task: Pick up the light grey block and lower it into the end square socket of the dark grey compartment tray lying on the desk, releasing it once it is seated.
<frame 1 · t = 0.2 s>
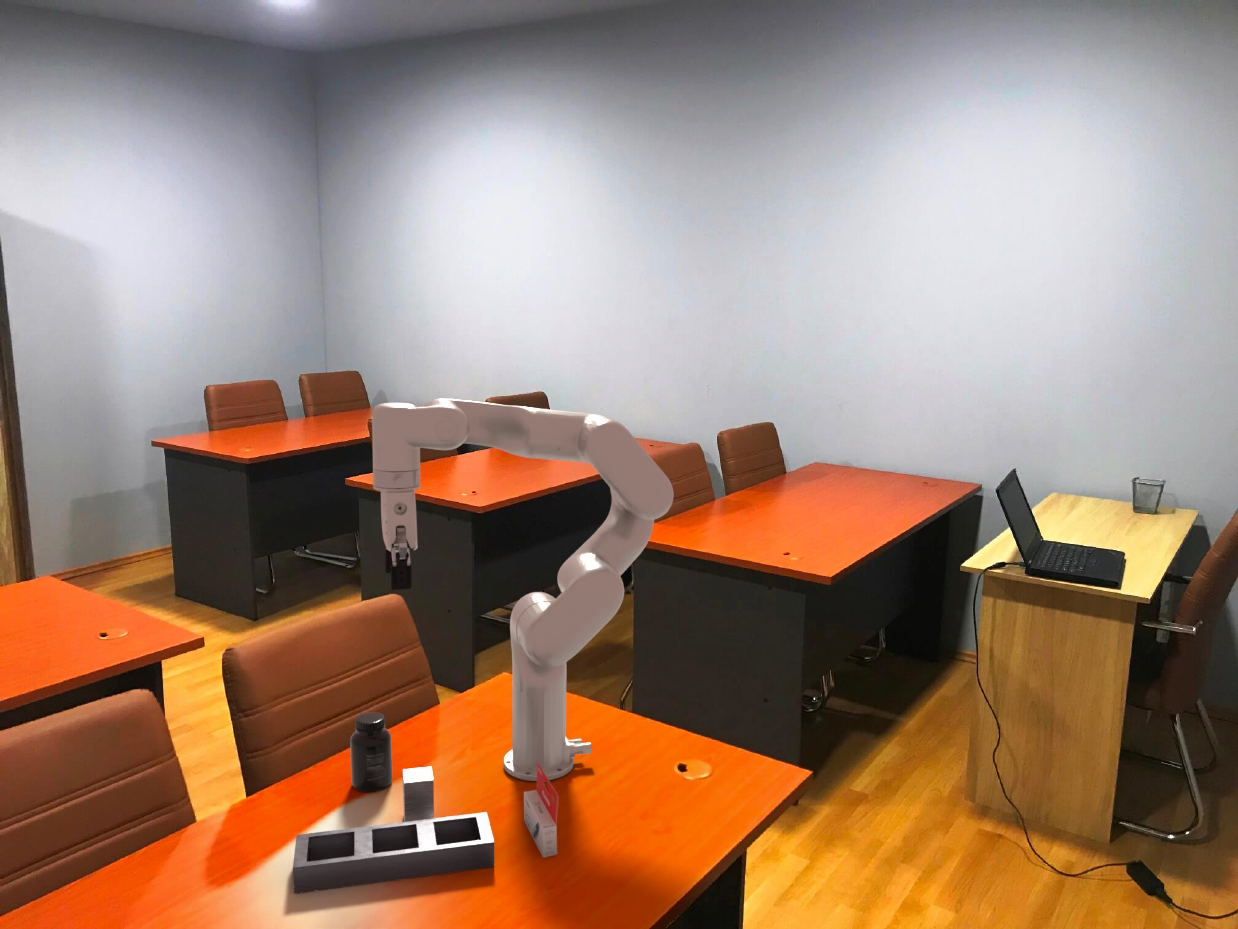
hand: (398, 580, 159), 36 cm above the table, tool pointing down, fingers open, 9 cm apart
ink cartridge box: (540, 839, 149), on the table
supplement bottle: (372, 784, 164), on the table
dark grey compartment tray: (395, 863, 141), on the table
light grey block: (418, 821, 152), on the table
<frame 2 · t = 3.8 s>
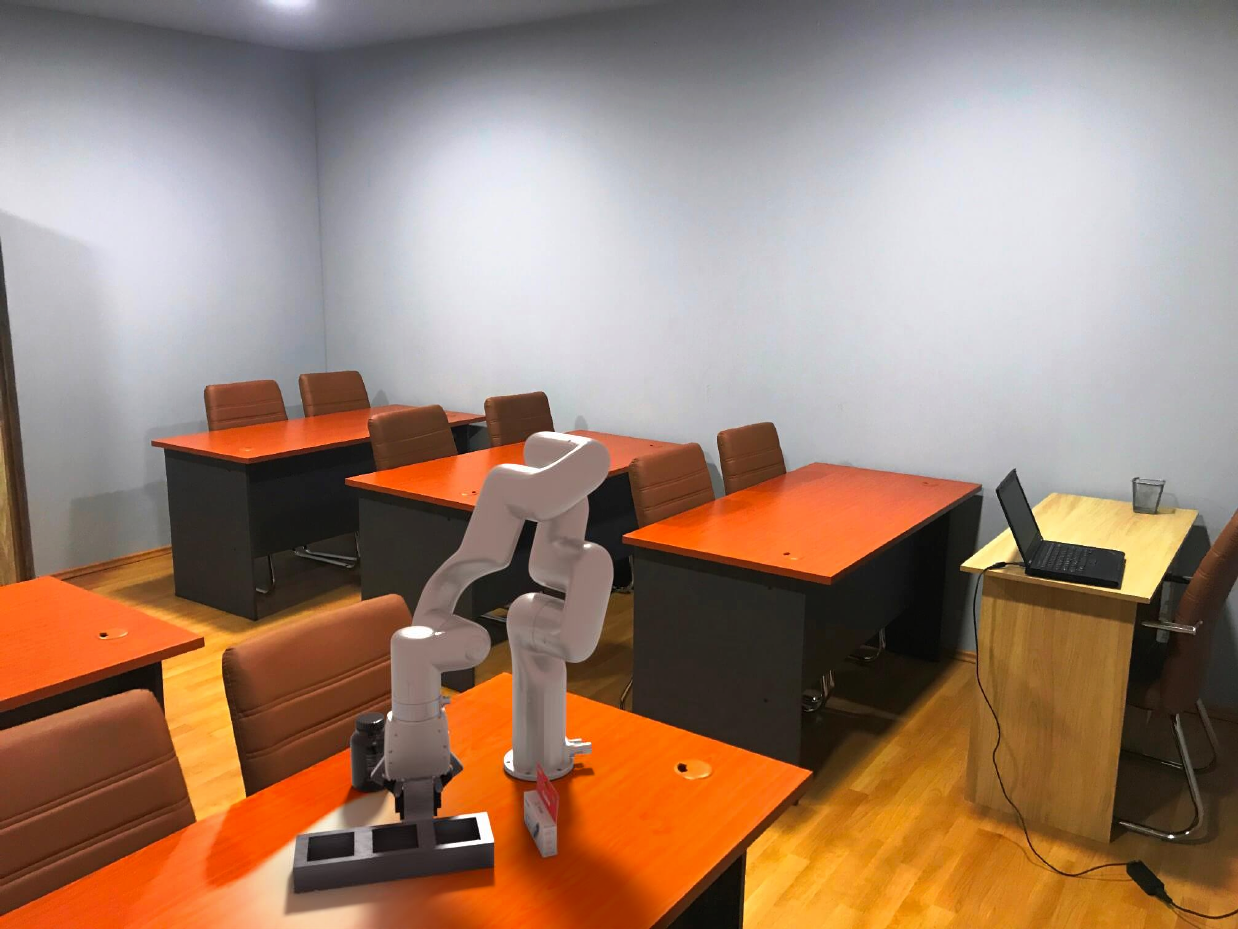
hand: (418, 813, 152), 1 cm above the table, tool pointing down, fingers closed on light grey block, 4 cm apart
light grey block: (418, 821, 152), on the table, touching gripper
everything else where it was.
when the fingers open (5 cm above the table, at t = 8.2 s): light grey block drops 3 cm, resting in dark grey compartment tray.
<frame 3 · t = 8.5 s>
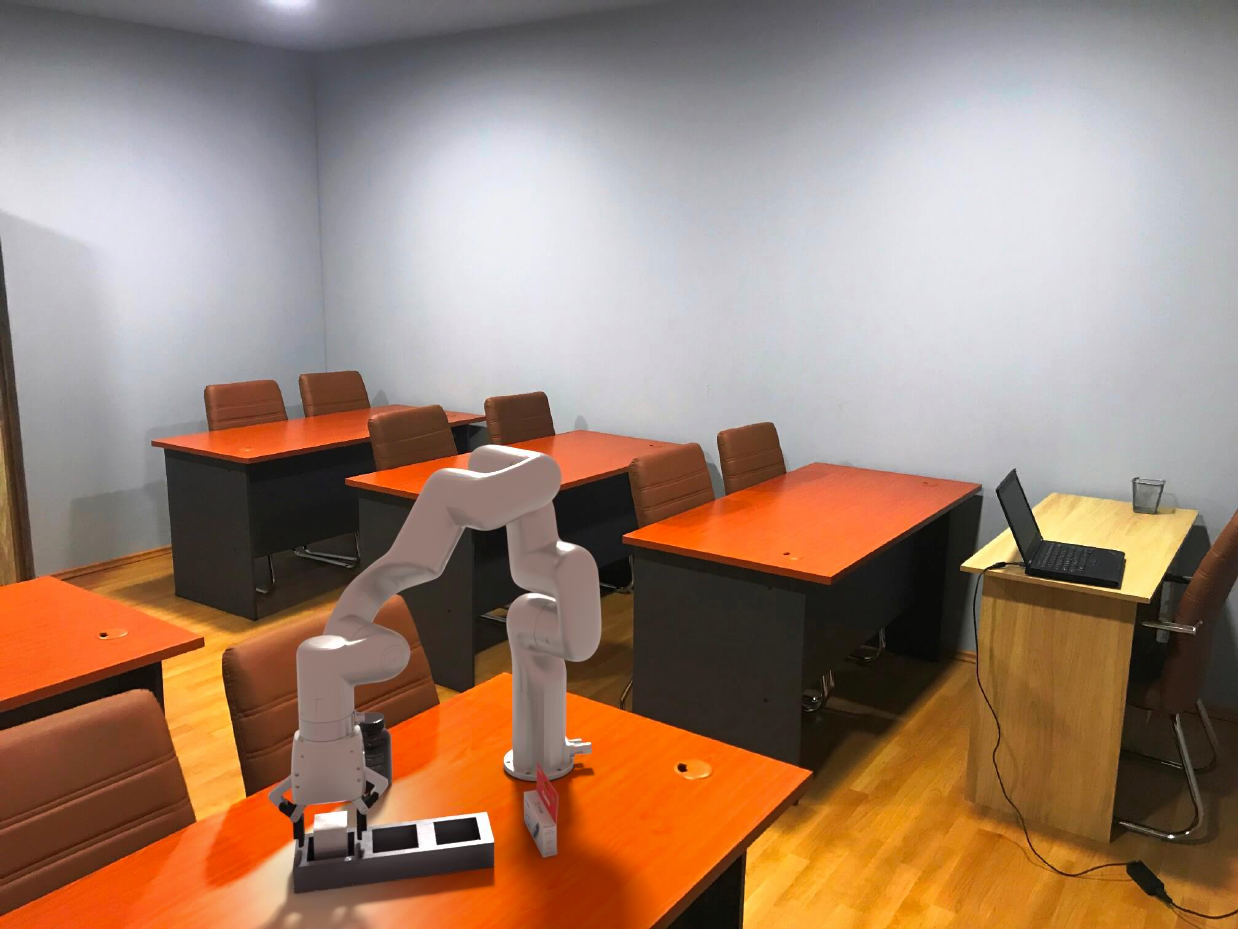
hand: (330, 838, 138), 5 cm above the table, tool pointing down, fingers open, 7 cm apart
light grey block: (332, 871, 139), resting in dark grey compartment tray
everything else where it was.
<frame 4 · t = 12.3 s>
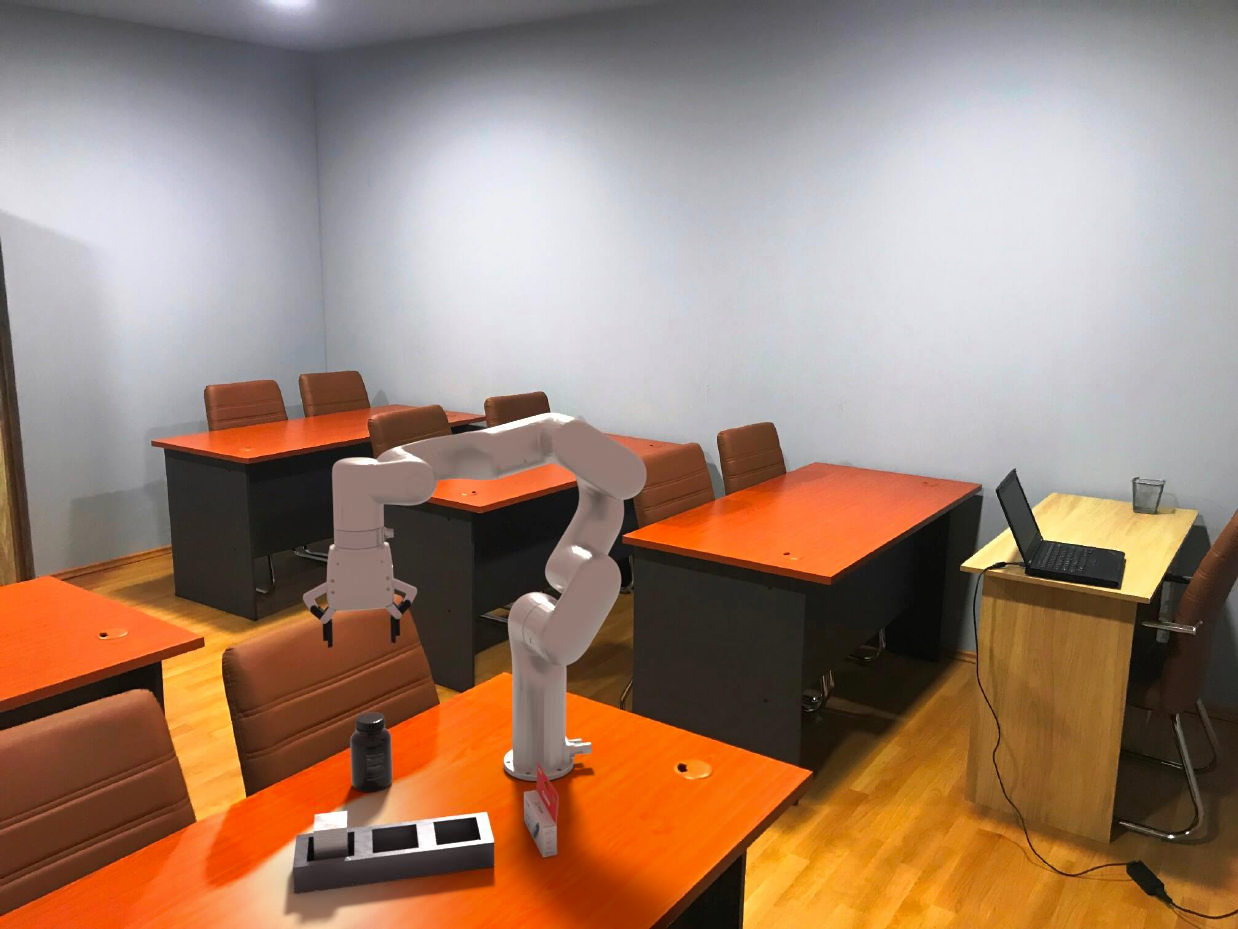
hand: (362, 642, 151), 28 cm above the table, tool pointing down, fingers open, 9 cm apart
nothing on the table moved.
at the end: light grey block 0.1 cm from the target spot on the dark grey compartment tray, point 0.0 cm above the dark grey compartment tray's base; light grey block tilted 0°; the gripper is holding nothing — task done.
